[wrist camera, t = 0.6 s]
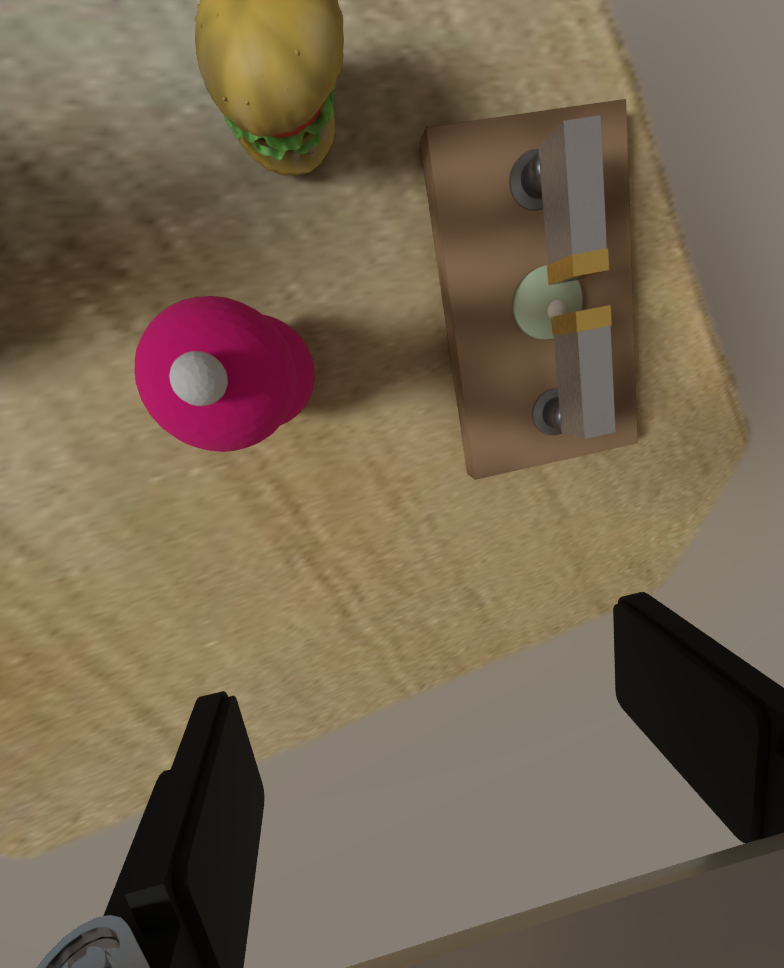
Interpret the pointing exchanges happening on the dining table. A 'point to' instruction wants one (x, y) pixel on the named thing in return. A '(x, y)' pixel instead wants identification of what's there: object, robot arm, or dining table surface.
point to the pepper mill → (221, 373)
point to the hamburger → (274, 75)
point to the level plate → (521, 285)
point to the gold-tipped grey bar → (571, 199)
